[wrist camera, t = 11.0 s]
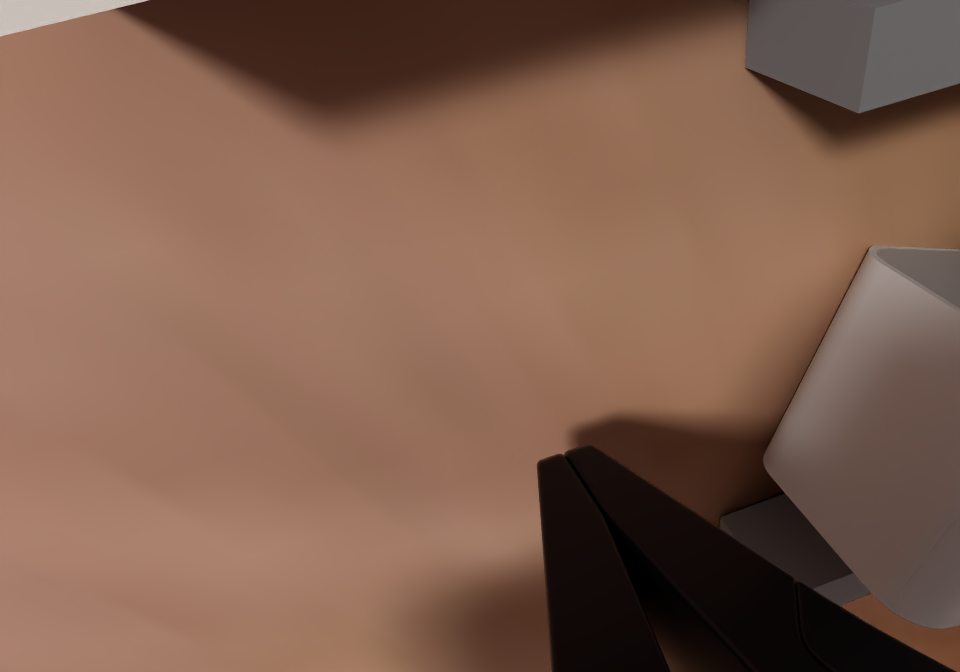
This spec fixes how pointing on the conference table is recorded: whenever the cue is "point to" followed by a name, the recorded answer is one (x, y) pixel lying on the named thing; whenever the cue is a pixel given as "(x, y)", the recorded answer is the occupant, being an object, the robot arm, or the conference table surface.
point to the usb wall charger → (885, 433)
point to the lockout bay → (858, 87)
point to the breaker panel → (50, 12)
